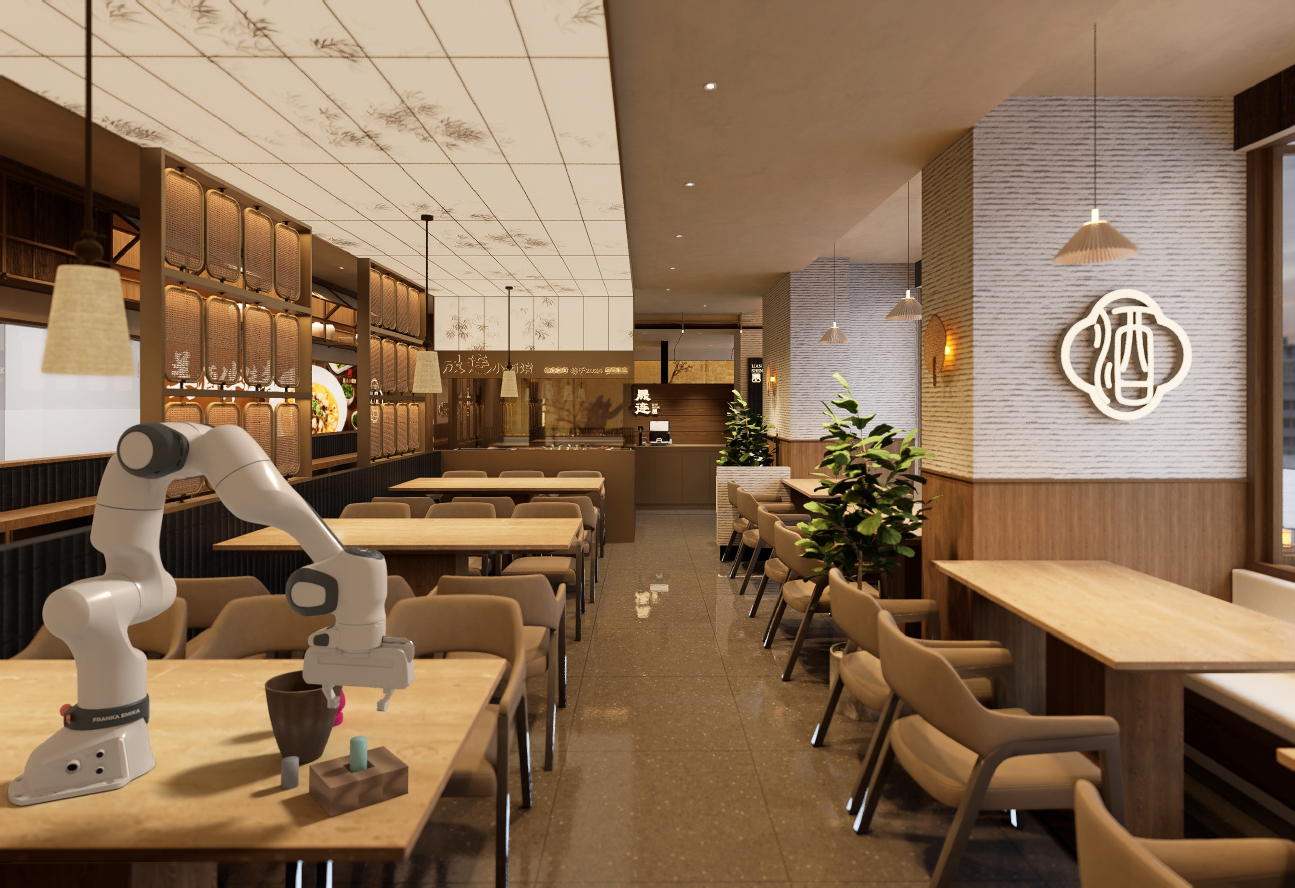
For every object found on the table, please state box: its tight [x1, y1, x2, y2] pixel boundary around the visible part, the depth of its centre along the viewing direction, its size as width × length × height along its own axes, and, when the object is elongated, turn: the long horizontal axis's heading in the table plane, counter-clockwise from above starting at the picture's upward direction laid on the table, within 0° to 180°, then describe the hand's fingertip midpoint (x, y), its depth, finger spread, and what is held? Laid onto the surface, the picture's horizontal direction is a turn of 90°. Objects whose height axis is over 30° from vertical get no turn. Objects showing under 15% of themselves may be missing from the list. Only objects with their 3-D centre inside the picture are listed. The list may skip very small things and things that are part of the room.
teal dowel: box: [349, 735, 368, 773], centre depth 137 cm, size 3×3×10 cm
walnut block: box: [308, 745, 409, 818], centre depth 137 cm, size 14×12×5 cm
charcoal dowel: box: [280, 756, 300, 791], centre depth 139 cm, size 3×3×5 cm
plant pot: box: [264, 669, 344, 765], centre depth 152 cm, size 15×15×16 cm
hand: (357, 709), depth 137 cm, fingers open, 8 cm apart
